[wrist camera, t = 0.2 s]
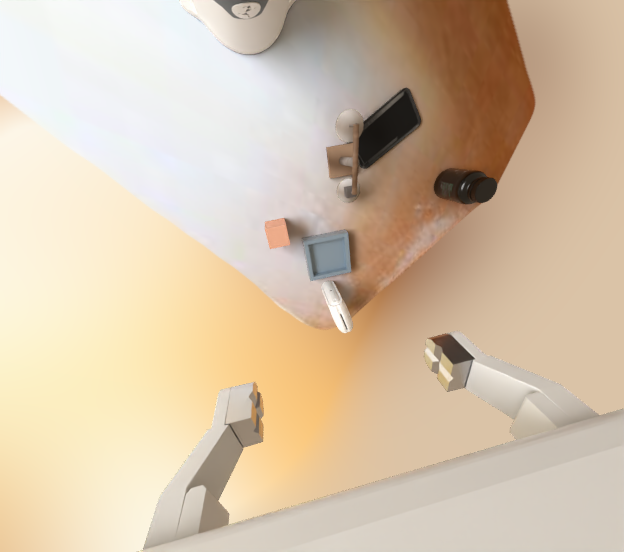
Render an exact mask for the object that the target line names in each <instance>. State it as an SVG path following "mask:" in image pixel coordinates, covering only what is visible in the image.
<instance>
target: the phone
mask: <svg viewBox="0 0 624 552" xmlns="http://www.w3.org/2000/svg"><path fill="white" fill-rule="evenodd" d="M420 122H421V119H420V116H419V113H418V110H417V108H416V105H415V103H414V100H413V97H412V95H411V92H410V90H409V89H408V88H404V89H402V90H400V91H399V92H398V93H397V94H396V95H395V96H393V97H392V98H391V99H390V100H389V101H388V102H386V103H385V104H384V105H383V106H382V107H381V108H379V109H378V110H377V111H376V112H375V113H374V114H372V115H371V116H370V117H369V118H368V119H367V120H365V121H364V122H363V123H364V126H363V131H362V134H361V135H360V137H359V148H358V159H359V165H360V166H361V168H365V169H366V168H368V167H369V166H371V165H372V164H373V163H374V162H375V161H377V160H378V159H379V158H380V157H382V156H383V155H384V154H385V153H387V152H388V151H389V150H390V149H391V148H393V147H394V146H395V145H396V144H398V143H399V142H400V141H401V140H402V139H404V138H405V137H406V136H407V135H409V134H410V133H411V132H412V131H414V130H415V129H416V128H417V127H418V126H419V125H420ZM349 143H353V142H349ZM349 143H347V144H349Z"/></svg>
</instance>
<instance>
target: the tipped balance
mask: <svg viewBox="0 0 624 552" xmlns="http://www.w3.org/2000/svg"><path fill="white" fill-rule="evenodd" d="M363 126H364V123H363V118H362V116H361V114H360V113H359V112H358V111H356V110H354V109H348V110H345V111H343V112H342V113H341V114H340V115H339V117H338V118H337V121H336V133H337V135H338V137H339V138H340V140H342V141H343V142H347V143H349V142H353V143H349V144H343V145H338V146H332V147H326V149H327V158H328V167H329V177H330V178H336V177H341V176H346V175H351V174H352V179H351V178H347V179H344V180H342V181H341V182H340V183H339V185H338V187H337V196H338V198H339V199H340V200H341V201H342V202H344V203H351V202H353V201H355V200H356V199H357V197H358V196H359V193H360V186H359V184H358V182H357V176H358V165H359V159H358V148H359V137H360V135H361V134H362V131H363Z"/></svg>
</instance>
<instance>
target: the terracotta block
mask: <svg viewBox="0 0 624 552" xmlns="http://www.w3.org/2000/svg"><path fill="white" fill-rule="evenodd" d="M265 232H266V235H267V239H268V243H269V247H270V249H272V248H277V247H282V246H287V245H290V241H289V237H288V232H287V227H286V223H285V219H284V218H282V219H277V220H272V221H267V222H265Z"/></svg>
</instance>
